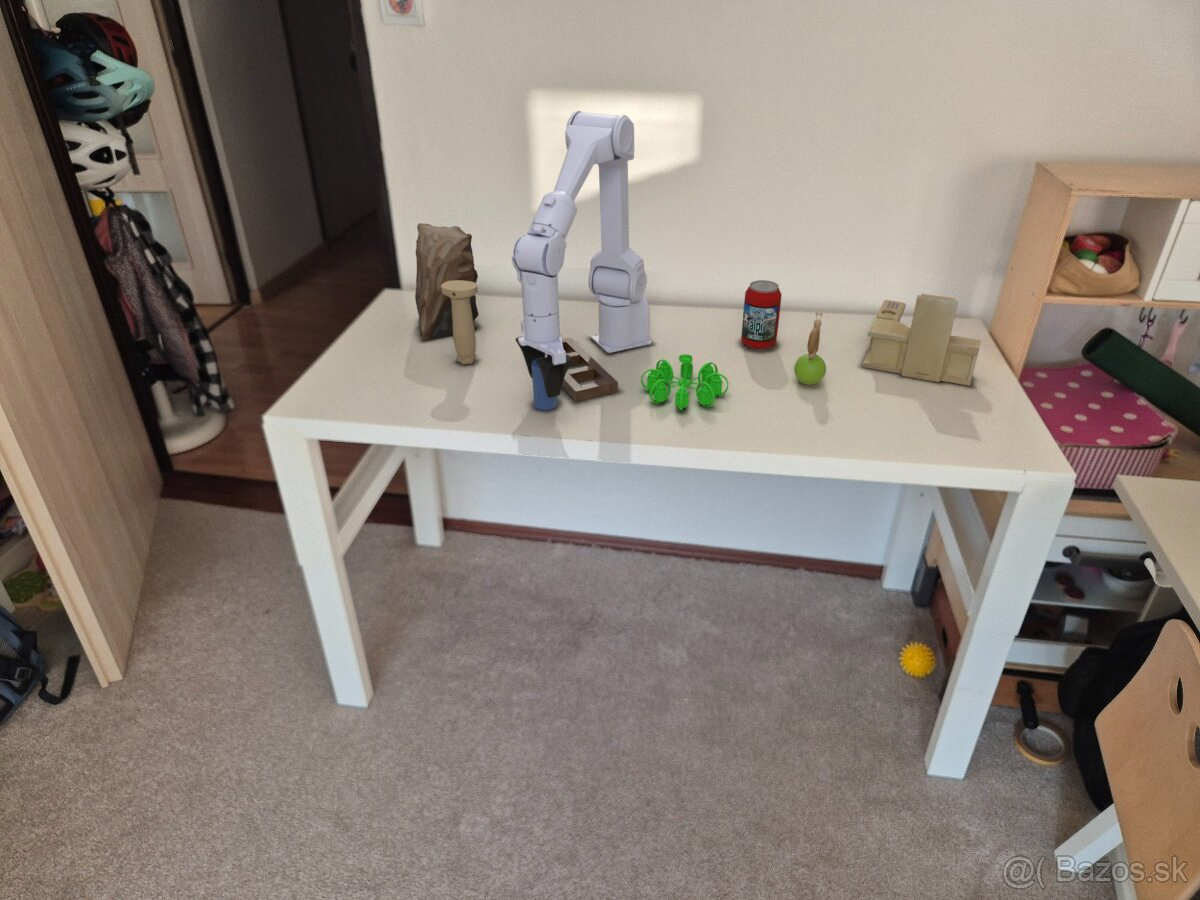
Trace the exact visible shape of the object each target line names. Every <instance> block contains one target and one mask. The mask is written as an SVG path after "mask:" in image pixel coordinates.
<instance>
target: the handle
mask: <svg viewBox="0 0 1200 900" xmlns="http://www.w3.org/2000/svg"><path fill="white" fill-rule="evenodd" d="M441 290H442V293H443V294H444V295H446V296H448V297H450V298H451V303H452V318H453V344H454V349H455V352H456V357H457V361H458V363H461V364H462V365H463V366H464V365H465V366H466V365H469V364H470V365H472V364H473V363H475V361H476V358H477V355H476V349H477V347H476V346H477V345H476V344H477V342H476V341H477V339H476V330H475V329H474V324H475V323H474V324H473V318H472V311H471V304H470V297H472V296H473V295H475V296H476V294H477V293H478V291H479V290H478V284H477V282H476V283H474V282H470V281H463V280H454V281H447V282H445V283H443V284H442V285H441Z"/></svg>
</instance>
